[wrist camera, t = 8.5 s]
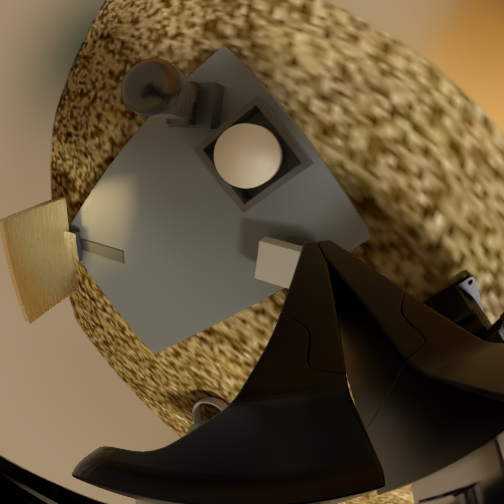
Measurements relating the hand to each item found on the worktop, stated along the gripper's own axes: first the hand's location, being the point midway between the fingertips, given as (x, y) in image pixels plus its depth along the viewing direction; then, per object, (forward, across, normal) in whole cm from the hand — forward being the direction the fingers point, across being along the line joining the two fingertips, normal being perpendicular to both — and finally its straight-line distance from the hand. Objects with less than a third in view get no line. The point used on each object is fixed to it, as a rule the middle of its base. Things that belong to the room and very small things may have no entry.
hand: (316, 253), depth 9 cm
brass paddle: (+14, +21, +5) cm, 26 cm away
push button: (+9, +2, -1) cm, 9 cm away
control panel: (+13, +8, +5) cm, 16 cm away
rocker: (+7, 0, +6) cm, 9 cm away
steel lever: (+10, +5, -5) cm, 12 cm away
